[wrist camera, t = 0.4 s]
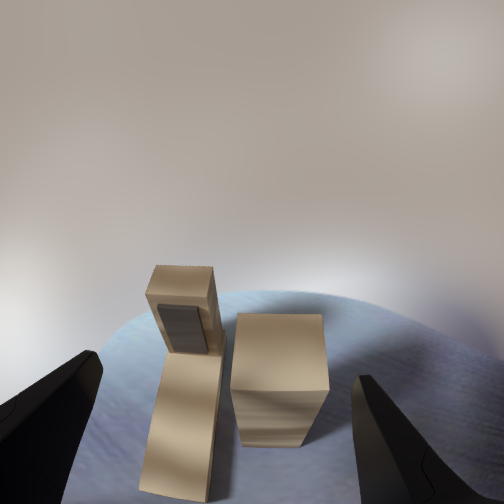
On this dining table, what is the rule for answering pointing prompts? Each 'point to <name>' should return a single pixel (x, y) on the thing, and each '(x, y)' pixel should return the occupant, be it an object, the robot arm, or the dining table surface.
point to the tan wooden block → (278, 377)
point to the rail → (185, 383)
